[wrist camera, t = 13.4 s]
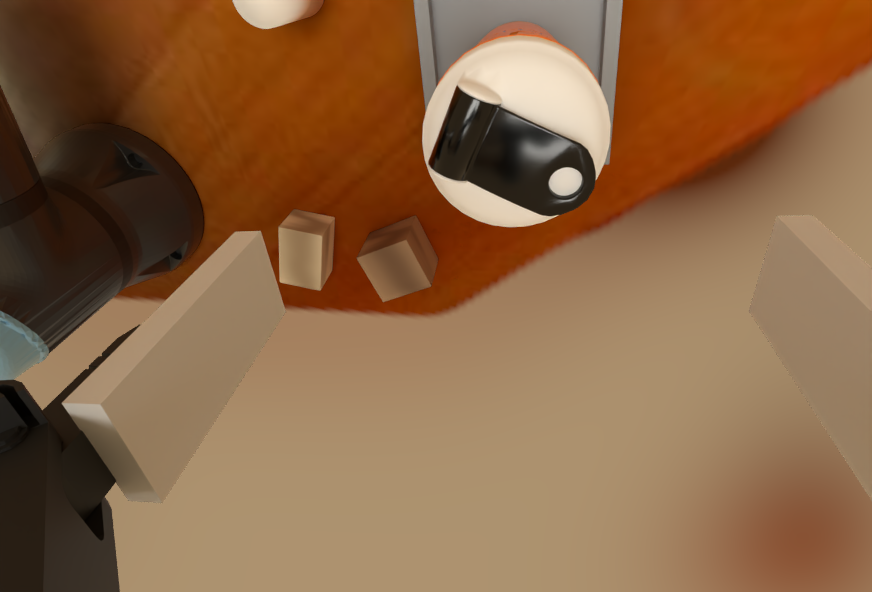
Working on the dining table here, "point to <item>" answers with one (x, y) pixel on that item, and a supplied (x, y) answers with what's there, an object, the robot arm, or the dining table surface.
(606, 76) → the tray
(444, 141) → the shaker bottle
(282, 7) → the ceramic shaker
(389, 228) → the walnut block
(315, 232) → the oak block
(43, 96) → the dining table surface
